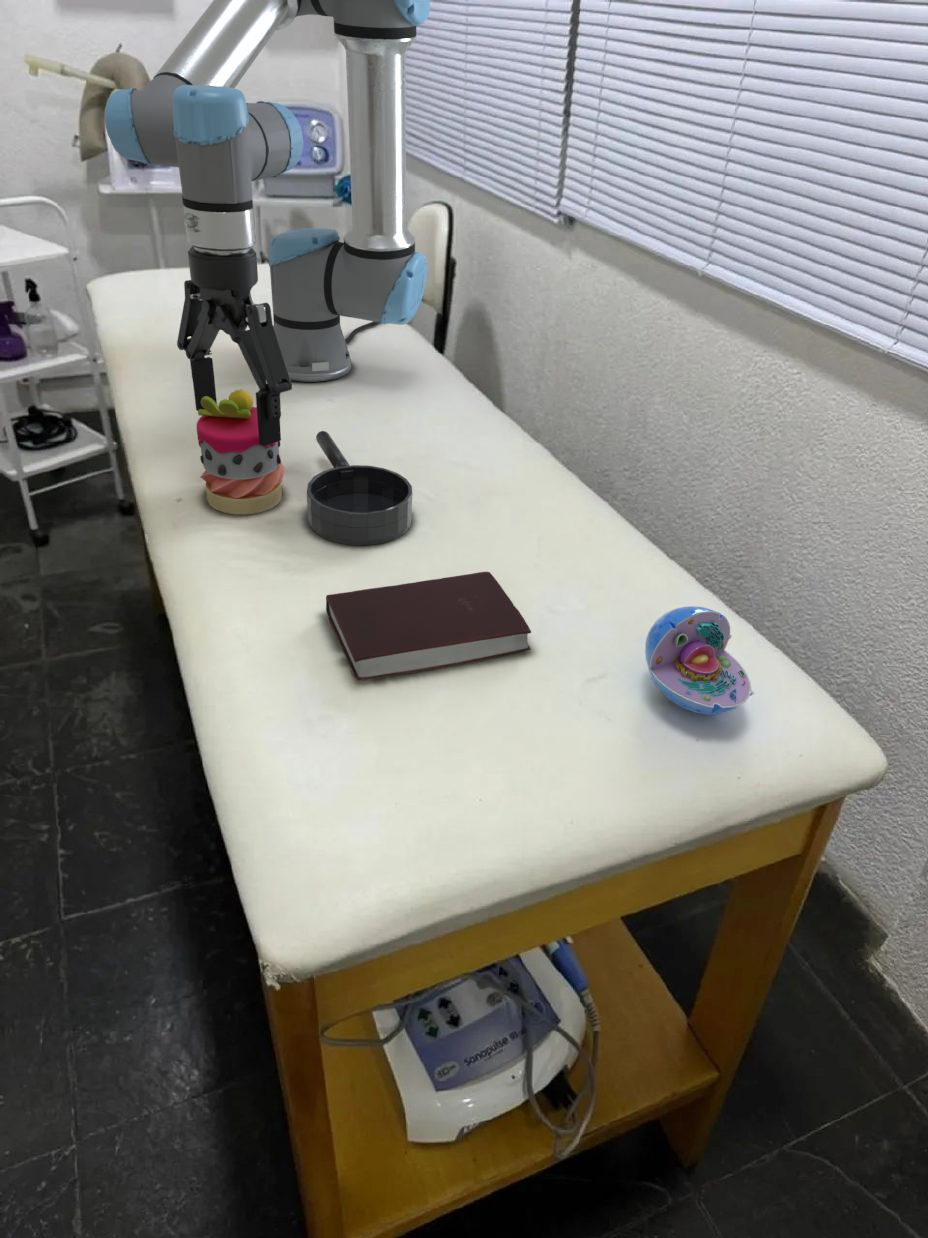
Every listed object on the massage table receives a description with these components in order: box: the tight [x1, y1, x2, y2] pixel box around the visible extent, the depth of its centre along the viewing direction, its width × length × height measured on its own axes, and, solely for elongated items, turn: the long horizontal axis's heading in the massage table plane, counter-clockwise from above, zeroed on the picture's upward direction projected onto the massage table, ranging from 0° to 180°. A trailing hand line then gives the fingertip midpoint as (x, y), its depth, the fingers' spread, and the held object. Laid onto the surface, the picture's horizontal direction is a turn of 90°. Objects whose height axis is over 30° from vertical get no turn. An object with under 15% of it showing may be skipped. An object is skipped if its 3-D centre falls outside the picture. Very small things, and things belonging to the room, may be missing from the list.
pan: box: [306, 464, 413, 546], centre depth 110 cm, size 13×13×4 cm
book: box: [325, 571, 532, 681], centre depth 92 cm, size 12×19×3 cm, turn 111°
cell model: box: [644, 605, 755, 716], centre depth 84 cm, size 10×12×10 cm
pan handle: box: [315, 430, 354, 479], centre depth 119 cm, size 13×2×2 cm, turn 23°
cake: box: [196, 389, 285, 515], centre depth 110 cm, size 10×10×15 cm
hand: (237, 425), depth 108 cm, fingers open, 13 cm apart
